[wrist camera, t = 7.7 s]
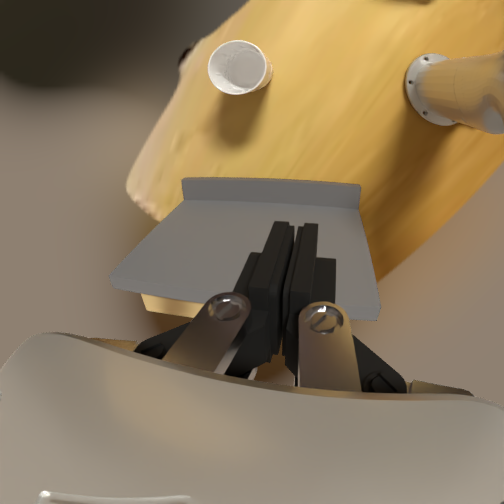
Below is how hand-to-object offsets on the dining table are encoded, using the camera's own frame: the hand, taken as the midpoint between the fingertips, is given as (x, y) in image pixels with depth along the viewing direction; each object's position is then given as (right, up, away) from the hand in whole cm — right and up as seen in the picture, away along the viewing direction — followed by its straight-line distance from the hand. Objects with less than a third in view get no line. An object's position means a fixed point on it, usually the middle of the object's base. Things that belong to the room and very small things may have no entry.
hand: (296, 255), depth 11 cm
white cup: (-2, +29, +28) cm, 41 cm away
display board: (+1, +9, +41) cm, 42 cm away
